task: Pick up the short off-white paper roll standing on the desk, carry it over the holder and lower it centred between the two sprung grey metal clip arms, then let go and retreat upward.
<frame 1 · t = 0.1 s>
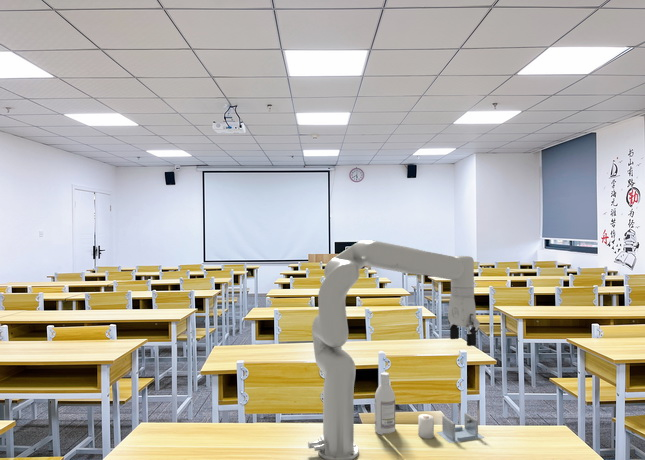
hand: (462, 342, 151), 31 cm above the table, fingers open, 9 cm apart
arm far: (470, 425, 148), point 4 cm above the table, hinge at 0.0°
arm near: (449, 428, 146), point 4 cm above the table, hinge at 0.0°
roll: (426, 438, 147), on the table
bath foam: (385, 432, 152), on the table
holder: (460, 437, 147), on the table
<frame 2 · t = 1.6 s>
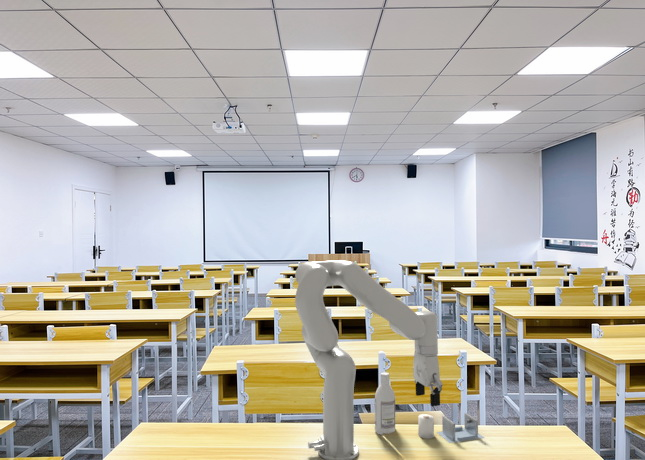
hand: (427, 400, 147), 13 cm above the table, fingers open, 9 cm apart
nothing on the table moved.
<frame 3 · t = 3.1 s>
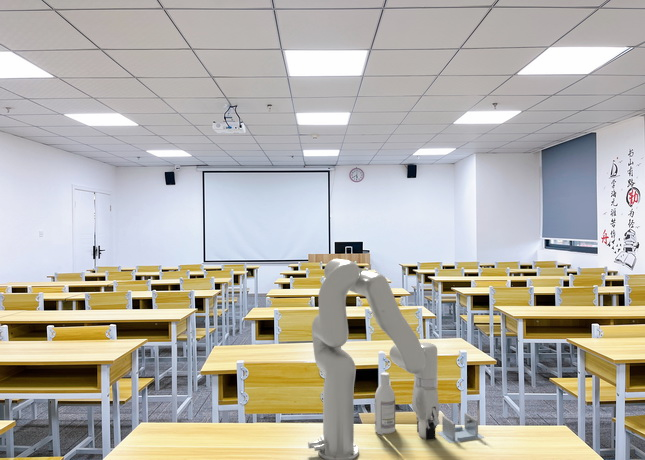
hand: (426, 435, 147), 1 cm above the table, fingers closed on roll, 5 cm apart
roll: (426, 438, 147), on the table, touching gripper
everything else where it was.
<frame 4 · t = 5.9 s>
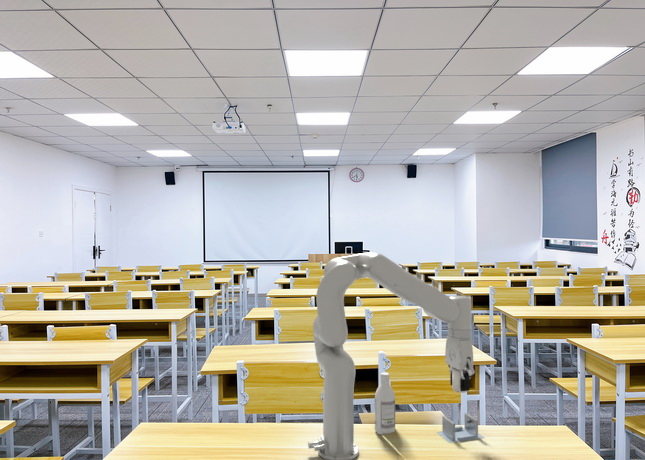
hand: (459, 387, 148), 17 cm above the table, fingers closed on roll, 5 cm apart
roll: (460, 389, 148), point 16 cm above the table, touching gripper
everything else where it was.
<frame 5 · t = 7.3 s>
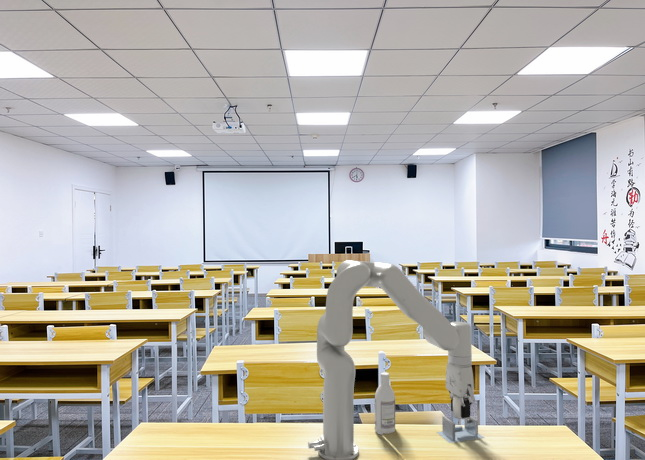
hand: (460, 413, 147), 8 cm above the table, fingers closed on roll, 5 cm apart
arm far: (470, 425, 148), point 4 cm above the table, hinge at 0.0°, touching holder
arm near: (449, 428, 146), point 4 cm above the table, hinge at 0.0°, touching holder
roll: (460, 416, 147), point 7 cm above the table, touching gripper
everything else where it was.
when the fingers open (4 cm above the table, at t = 8.5 s): roll drops 2 cm, resting on holder.
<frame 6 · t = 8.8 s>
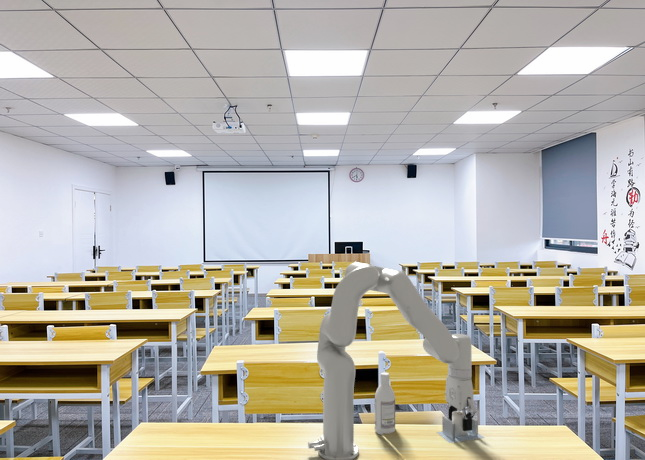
hand: (460, 424, 147), 4 cm above the table, fingers open, 7 cm apart
roll: (459, 434, 147), point 1 cm above the table, touching holder
everything else where it was.
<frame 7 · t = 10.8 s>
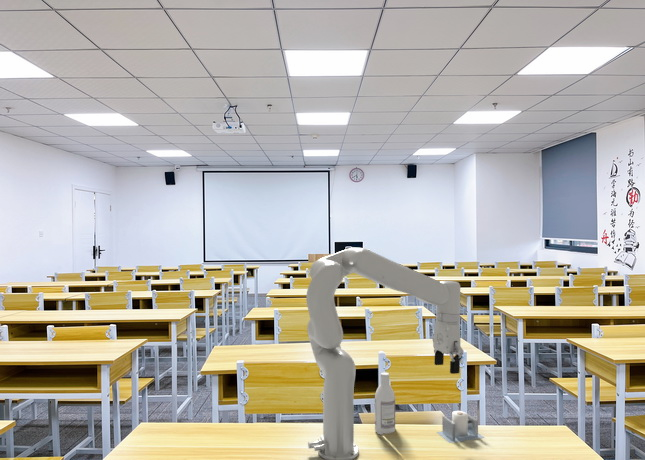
hand: (446, 368, 148), 23 cm above the table, fingers open, 9 cm apart
nothing on the table moved.
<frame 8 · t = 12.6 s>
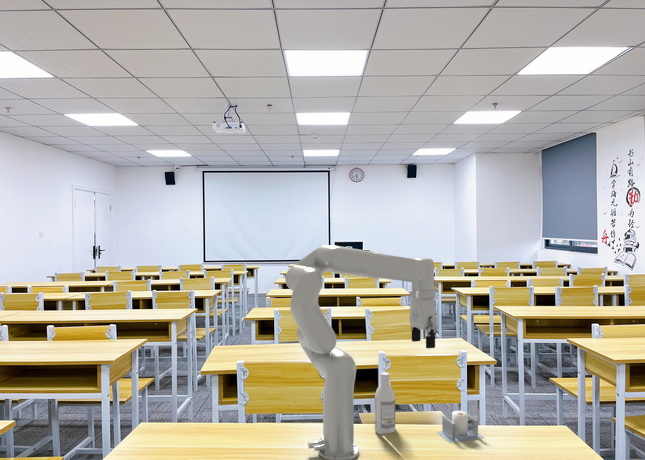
hand: (423, 344, 151), 30 cm above the table, fingers open, 9 cm apart
nothing on the table moved.
at the end: roll 0.0 cm off-centre on the holder, point 1.0 cm above the holder's base; roll tilted 0°; the gripper is holding nothing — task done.
